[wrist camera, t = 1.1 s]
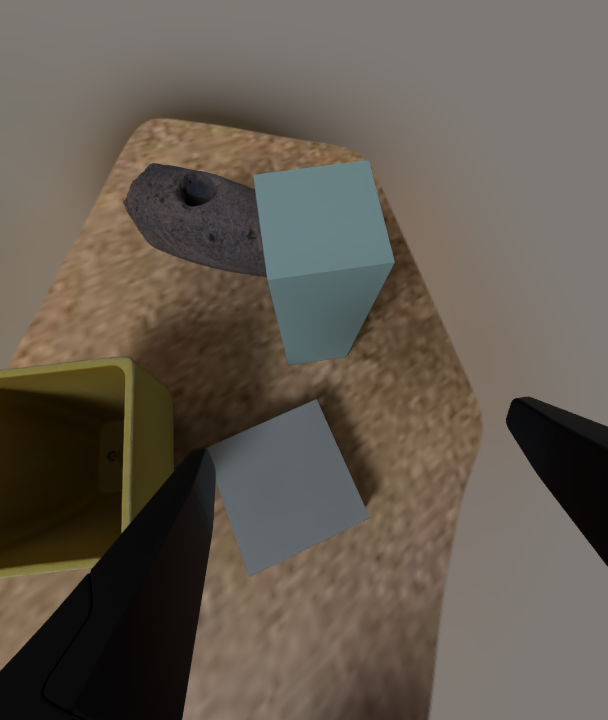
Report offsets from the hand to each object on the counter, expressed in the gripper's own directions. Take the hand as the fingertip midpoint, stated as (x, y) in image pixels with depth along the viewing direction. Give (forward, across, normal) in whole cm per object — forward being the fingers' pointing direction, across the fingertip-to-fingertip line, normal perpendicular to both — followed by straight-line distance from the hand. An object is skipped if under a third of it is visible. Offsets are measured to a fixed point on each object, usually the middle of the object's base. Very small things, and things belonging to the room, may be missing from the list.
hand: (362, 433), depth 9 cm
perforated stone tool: (+20, +4, -1) cm, 21 cm away
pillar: (+15, 0, +4) cm, 15 cm away
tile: (+8, +3, +11) cm, 14 cm away
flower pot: (+10, +14, +9) cm, 19 cm away
